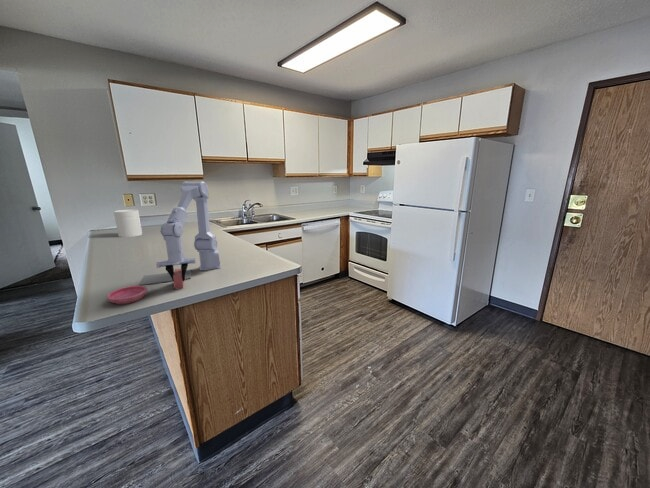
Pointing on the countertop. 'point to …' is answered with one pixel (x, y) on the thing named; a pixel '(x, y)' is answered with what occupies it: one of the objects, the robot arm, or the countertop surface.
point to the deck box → (178, 279)
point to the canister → (128, 223)
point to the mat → (160, 278)
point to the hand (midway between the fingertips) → (179, 280)
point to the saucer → (127, 294)
